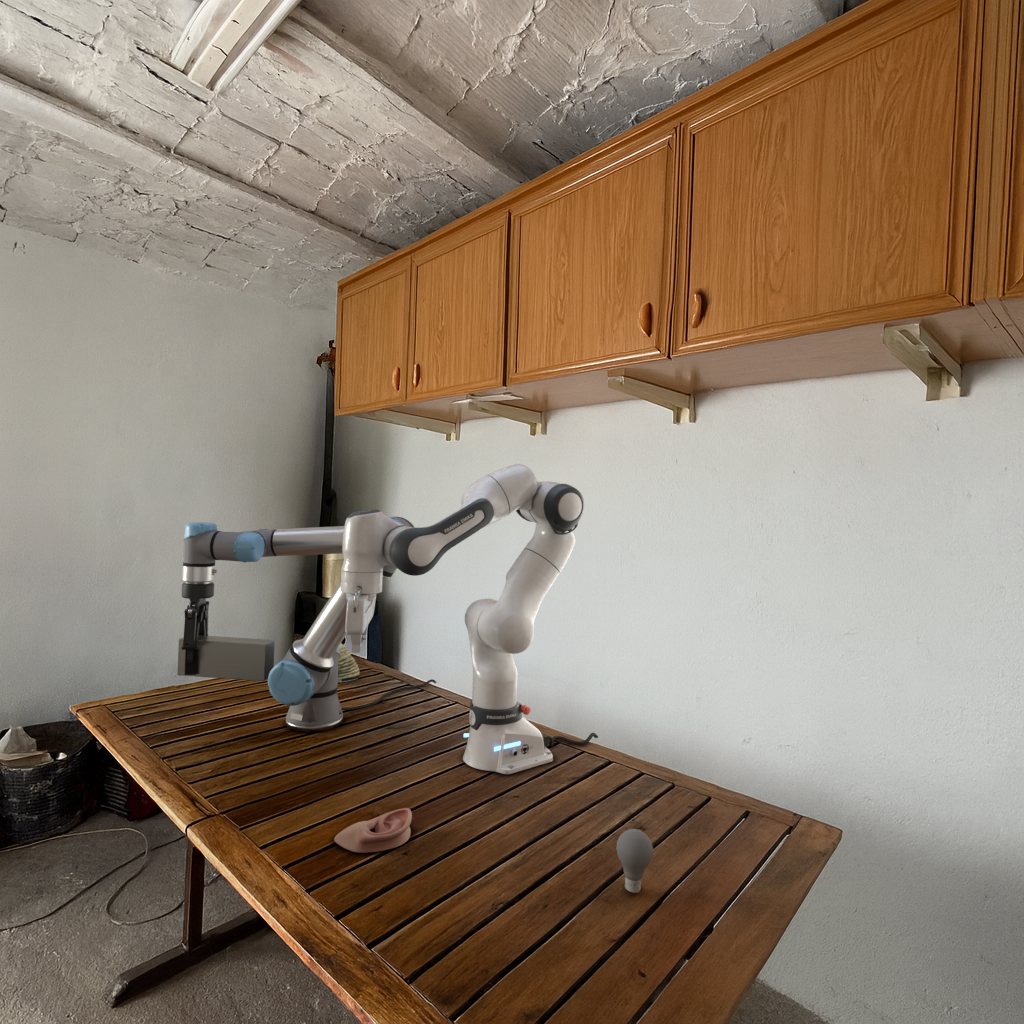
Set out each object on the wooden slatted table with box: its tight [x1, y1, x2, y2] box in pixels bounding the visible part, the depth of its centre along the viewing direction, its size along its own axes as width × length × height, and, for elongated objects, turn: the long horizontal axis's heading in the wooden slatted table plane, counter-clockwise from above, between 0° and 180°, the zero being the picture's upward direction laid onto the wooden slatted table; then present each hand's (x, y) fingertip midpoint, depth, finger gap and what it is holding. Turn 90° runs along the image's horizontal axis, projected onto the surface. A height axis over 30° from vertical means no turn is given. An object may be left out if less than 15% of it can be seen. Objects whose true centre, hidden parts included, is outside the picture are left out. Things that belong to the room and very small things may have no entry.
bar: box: [176, 635, 276, 682], centre depth 163 cm, size 23×5×9 cm, turn 86°
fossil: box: [338, 642, 361, 683], centre depth 216 cm, size 9×18×15 cm, turn 132°
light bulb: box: [615, 828, 654, 894], centre depth 106 cm, size 6×6×10 cm
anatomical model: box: [333, 807, 413, 854], centre depth 119 cm, size 13×4×12 cm
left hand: (194, 670), depth 164 cm, fingers closed on bar, 6 cm apart
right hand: (359, 646), depth 138 cm, fingers open, 8 cm apart
